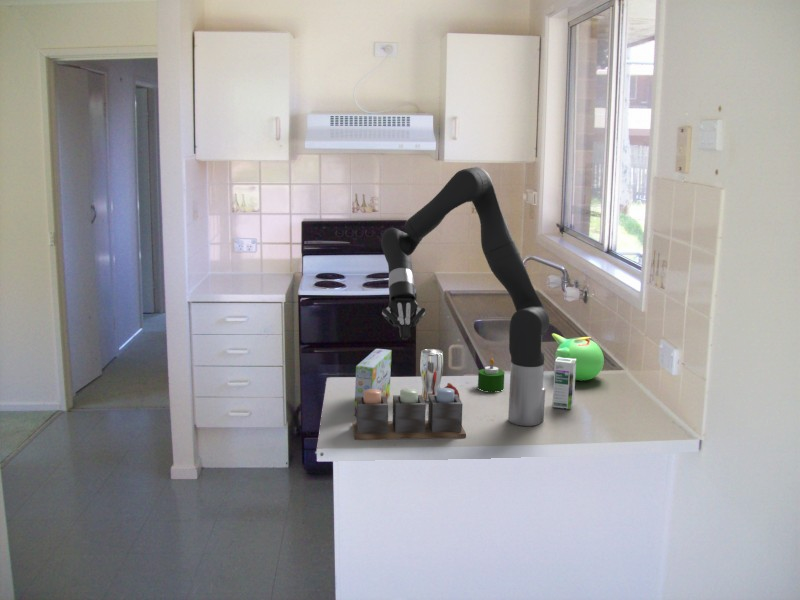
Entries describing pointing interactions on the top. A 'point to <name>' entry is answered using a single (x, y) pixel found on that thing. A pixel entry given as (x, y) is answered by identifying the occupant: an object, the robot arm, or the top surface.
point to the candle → (491, 378)
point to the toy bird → (581, 355)
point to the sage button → (408, 395)
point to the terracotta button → (372, 396)
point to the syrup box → (564, 383)
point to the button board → (409, 419)
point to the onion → (452, 388)
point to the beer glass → (431, 371)
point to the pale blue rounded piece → (445, 395)
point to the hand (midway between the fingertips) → (405, 338)
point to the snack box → (374, 374)
